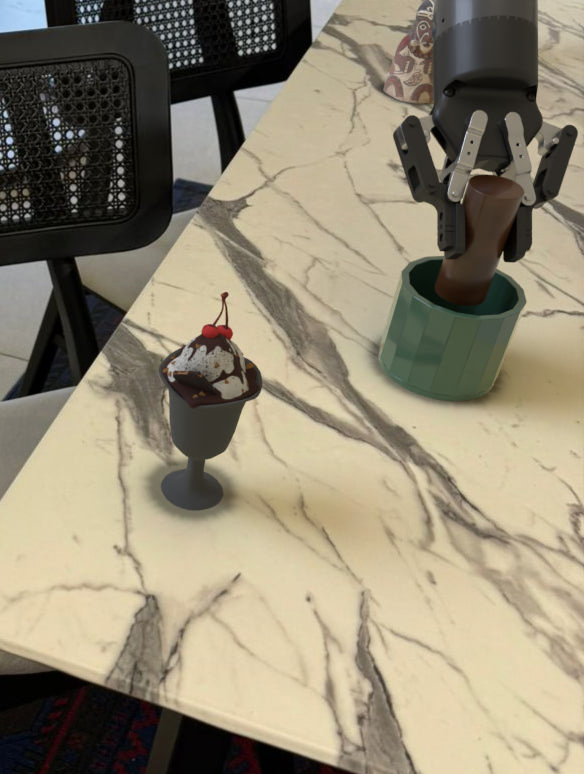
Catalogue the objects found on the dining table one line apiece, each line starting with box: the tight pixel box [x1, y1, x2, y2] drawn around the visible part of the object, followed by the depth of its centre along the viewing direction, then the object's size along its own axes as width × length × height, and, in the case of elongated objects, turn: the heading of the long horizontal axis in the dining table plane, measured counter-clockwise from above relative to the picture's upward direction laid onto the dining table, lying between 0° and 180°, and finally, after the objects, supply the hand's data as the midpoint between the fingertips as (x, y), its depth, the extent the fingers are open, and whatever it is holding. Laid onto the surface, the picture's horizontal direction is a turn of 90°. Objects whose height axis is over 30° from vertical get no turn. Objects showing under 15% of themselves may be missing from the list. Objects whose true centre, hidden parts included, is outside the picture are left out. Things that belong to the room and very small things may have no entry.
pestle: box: [435, 174, 524, 306], centre depth 78 cm, size 4×4×9 cm
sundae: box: [158, 291, 263, 512], centre depth 67 cm, size 7×7×15 cm
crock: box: [377, 255, 528, 402], centre depth 83 cm, size 10×10×8 cm
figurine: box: [383, 0, 435, 104], centre depth 130 cm, size 7×7×12 cm
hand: (484, 257), depth 77 cm, fingers closed on pestle, 4 cm apart
